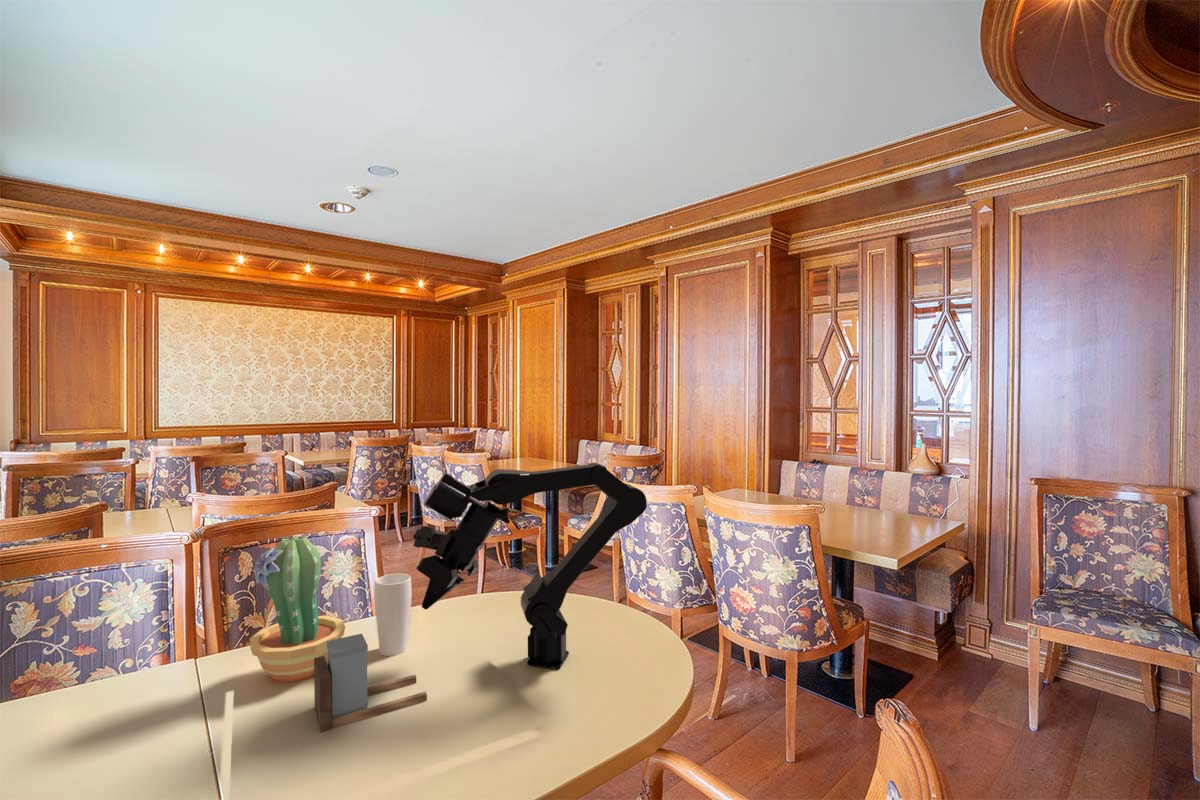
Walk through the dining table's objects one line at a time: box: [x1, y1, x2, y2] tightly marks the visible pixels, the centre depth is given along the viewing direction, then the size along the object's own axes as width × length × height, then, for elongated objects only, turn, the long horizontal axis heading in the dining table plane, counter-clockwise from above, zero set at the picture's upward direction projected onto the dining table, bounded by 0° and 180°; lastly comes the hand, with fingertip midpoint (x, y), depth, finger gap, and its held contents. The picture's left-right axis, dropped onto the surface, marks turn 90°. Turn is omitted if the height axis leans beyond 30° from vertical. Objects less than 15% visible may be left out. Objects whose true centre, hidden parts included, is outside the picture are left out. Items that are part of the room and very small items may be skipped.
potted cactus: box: [249, 535, 346, 683], centre depth 101 cm, size 15×15×25 cm
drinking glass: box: [374, 573, 413, 657], centre depth 109 cm, size 7×7×15 cm
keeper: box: [327, 633, 369, 718], centre depth 88 cm, size 5×5×11 cm
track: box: [313, 656, 428, 734], centre depth 90 cm, size 16×8×9 cm, turn 122°
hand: (424, 608), depth 101 cm, fingers closed
